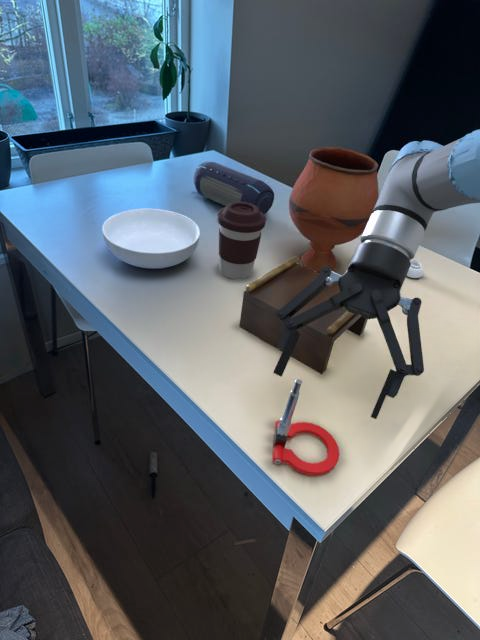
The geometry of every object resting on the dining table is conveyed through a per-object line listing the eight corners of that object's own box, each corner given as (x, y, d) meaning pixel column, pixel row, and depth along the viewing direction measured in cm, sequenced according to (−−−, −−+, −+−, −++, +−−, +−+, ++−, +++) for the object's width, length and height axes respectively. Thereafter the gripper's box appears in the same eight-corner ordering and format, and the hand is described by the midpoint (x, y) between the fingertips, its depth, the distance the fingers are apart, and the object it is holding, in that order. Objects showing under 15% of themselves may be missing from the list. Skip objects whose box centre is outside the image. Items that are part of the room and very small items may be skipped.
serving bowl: (115, 287, 90) (113, 257, 85) (96, 239, 104) (94, 211, 100) (212, 273, 98) (214, 245, 93) (182, 231, 112) (182, 205, 108)
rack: (363, 332, 86) (377, 291, 80) (321, 375, 75) (334, 331, 70) (286, 294, 94) (294, 254, 88) (238, 327, 83) (244, 284, 78)
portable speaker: (186, 195, 130) (187, 161, 124) (210, 188, 137) (212, 155, 131) (253, 226, 119) (257, 189, 113) (275, 216, 125) (280, 181, 119)
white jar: (399, 266, 109) (400, 276, 105) (403, 256, 107) (404, 266, 103) (420, 271, 108) (422, 281, 104) (424, 260, 107) (426, 270, 103)
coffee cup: (233, 288, 94) (240, 222, 85) (204, 267, 99) (208, 203, 90) (266, 275, 99) (277, 212, 90) (237, 256, 105) (244, 195, 96)
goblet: (292, 286, 97) (315, 172, 82) (270, 244, 111) (286, 141, 96) (372, 284, 101) (409, 175, 86) (340, 243, 116) (367, 144, 101)
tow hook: (335, 432, 66) (274, 420, 66) (363, 370, 58) (293, 357, 58) (338, 483, 60) (270, 469, 60) (370, 420, 52) (291, 405, 52)
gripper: (474, 291, 60) (414, 437, 59) (304, 235, 69) (247, 361, 67) (488, 274, 53) (421, 439, 51) (297, 214, 62) (233, 354, 60)
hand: (323, 396), depth 59 cm, fingers open, 13 cm apart
